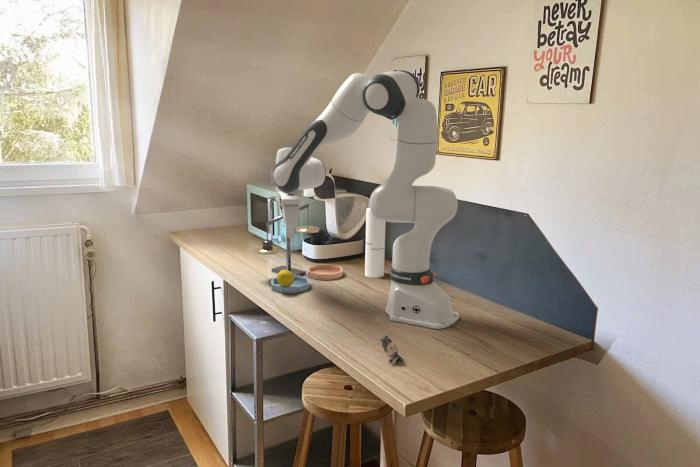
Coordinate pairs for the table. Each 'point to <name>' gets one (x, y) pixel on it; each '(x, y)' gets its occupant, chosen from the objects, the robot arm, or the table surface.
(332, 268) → the terracotta dish
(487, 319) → the table surface
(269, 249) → the balance
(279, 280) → the lemon
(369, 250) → the cylindrical container
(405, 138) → the robot arm
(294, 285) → the blue dish
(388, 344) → the grey brown knobbly figurine
